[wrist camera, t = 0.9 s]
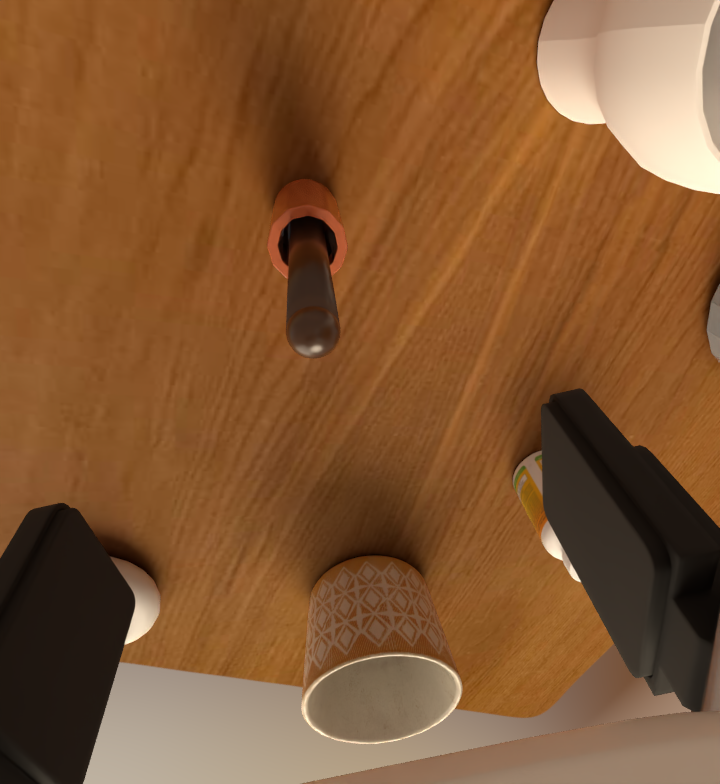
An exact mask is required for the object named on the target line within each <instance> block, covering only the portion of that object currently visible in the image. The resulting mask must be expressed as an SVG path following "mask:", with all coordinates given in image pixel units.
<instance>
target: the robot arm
mask: <svg viewBox="0 0 720 784" xmlns="http://www.w3.org/2000/svg"><path fill="white" fill-rule="evenodd" d="M541 437H542V491H543V507H544V511H545V515H546V517H547V520H548V522H549V524H550V525H551V527H552V529H553V531H554V533H555V535H556V537H557V538H558V540H559V542H560V544H561V546H562V548H563V549H564V551H565V553H566V555H567V557H568V559H569V561H570V562H571V564H572V566H573V568H574V570H575V572H576V573H577V575H578V577H579V579H580V581H581V583H582V585H583V586H584V588H585V590H586V592H587V594H588V596H589V597H590V599H591V601H592V603H593V605H594V607H595V609H596V610H597V612H598V614H599V616H600V618H601V620H602V621H603V623H604V625H605V627H606V629H607V631H608V633H609V634H610V636H611V638H612V640H613V642H614V644H615V645H616V647H617V649H618V651H619V653H620V654H621V657H622V658H623V660H624V662H625V664H626V666H627V667H628V669H629V671H630V672H631V673H632V675H633V676H634V677H635V678H640V677H644V678H645V680H646V682H647V684H648V686H649V687H650V689H651V691H652V693H653V695H654V696H656V695H661V694H665V693H671V692H675V694H676V695H677V697H678V699H679V700H680V702H681V704H682V705H683V706H684V707H686V708H688V709H690V710H691V712H683V713H676V714H667V715H660V716H652V717H644V718H636V719H629V720H623V721H618V722H612V723H607V724H601V725H596V726H591V727H585V728H580V729H574V730H569V731H563V732H558V733H552V734H546V735H541V736H535V737H530V738H525V739H520V740H515V741H510V742H505V743H500V744H495V745H490V746H485V747H480V748H475V749H470V750H465V751H460V752H455V753H450V754H445V755H440V756H435V757H430V758H425V759H420V760H416V761H410V762H405V763H401V764H395V765H390V766H385V767H380V768H376V769H370V770H366V771H361V772H356V773H351V774H346V775H341V776H336V777H331V778H327V779H322V780H317V781H312V782H307V783H303V784H720V528H719V527H718V526H717V525H716V524H715V523H714V521H713V520H712V519H711V518H710V517H709V516H708V515H707V514H706V513H705V511H704V510H703V509H702V508H701V507H700V506H699V505H698V504H697V503H696V501H695V500H694V499H693V498H692V497H691V496H690V495H689V494H688V493H687V491H686V490H685V489H684V488H683V487H682V486H681V485H680V484H679V483H678V481H677V480H676V479H675V478H674V477H673V476H672V475H671V474H670V473H669V471H668V470H667V469H666V468H665V467H664V466H663V465H662V464H661V462H660V461H659V460H658V459H657V458H656V457H655V456H654V455H653V454H652V453H651V452H650V451H649V450H648V449H647V448H646V447H643V446H640V445H639V446H635V447H633V446H632V445H631V444H630V443H629V441H628V440H627V439H626V438H625V437H624V436H623V435H622V433H621V432H620V431H619V430H618V429H617V428H616V426H615V425H614V424H613V423H612V422H611V421H610V420H609V418H608V417H607V416H606V415H605V414H604V413H603V411H602V410H601V409H600V408H599V407H598V406H597V405H596V403H595V402H594V401H593V400H592V399H591V398H590V396H589V395H588V394H587V393H586V392H585V391H584V390H583V389H580V388H579V389H575V390H570V391H566V392H561V393H557V394H552V395H551V396H550V399H549V403H546V404H543V405H542V407H541ZM134 611H135V596H134V593H133V591H132V589H131V588H130V586H129V585H128V583H127V582H126V580H125V579H124V577H123V576H122V574H121V573H120V571H119V570H118V568H117V567H116V565H115V564H114V562H113V561H112V559H111V558H110V556H109V555H108V553H107V552H106V551H105V549H104V548H103V546H102V545H101V543H100V542H99V540H98V539H97V537H96V536H95V534H94V533H93V531H92V530H91V528H90V527H89V525H88V524H87V522H86V521H85V519H84V518H83V516H82V515H81V513H80V512H79V511H78V510H77V509H75V508H70V507H69V506H68V505H66V504H64V503H58V504H54V505H49V506H45V507H40V508H35V509H33V510H31V511H29V512H28V514H27V515H26V516H25V518H24V520H23V521H22V523H21V525H20V526H19V528H18V530H17V531H16V533H15V535H14V536H13V538H12V540H11V541H10V543H9V545H8V546H7V548H6V550H5V551H4V553H3V555H2V557H1V558H0V784H83V782H84V779H85V775H86V772H87V768H88V765H89V762H90V759H91V755H92V752H93V748H94V745H95V742H96V738H97V735H98V732H99V728H100V725H101V721H102V718H103V715H104V712H105V708H106V705H107V701H108V698H109V695H110V691H111V688H112V685H113V681H114V678H115V674H116V671H117V668H118V664H119V661H120V658H121V654H122V651H123V648H124V644H125V641H126V638H127V634H128V631H129V628H130V624H131V621H132V617H133V614H134Z"/></svg>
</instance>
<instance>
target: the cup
mask: <svg viewBox="0 0 720 784" xmlns="http://www.w3.org/2000/svg"><path fill="white" fill-rule="evenodd" d="M537 67H538V73H539V79H540V84H541V86H542V88H543V91H544V93H545V95H546V97H547V99H548V101H549V102H550V103H551V104H552V106H553V107H554V108H555V109H556V110H557V111H558V112H559V113H560V114H562V115H563V116H565V117H567V118H569V119H570V120H572V121H575V122H581V123H586V124H602V123H606V124H607V127H608V128H609V129H610V130H611V132H612V133H613V134H614V135H615V137H616V138H617V139H618V140H619V142H620V143H621V144H622V145H623V147H624V148H625V149H626V150H627V151H628V152H629V154H630V155H631V156H632V157H633V158H634V159H635V161H636V162H637V163H638V164H639V165H640V166H641V167H642V168H644V169H646V170H648V171H650V172H651V173H653V174H655V175H657V176H659V177H660V178H662V179H664V180H666V181H669V182H672V183H675V184H678V185H681V186H684V187H687V188H690V189H693V190H698V191H704V192H710V193H716V194H720V0H554V1H553V3H552V5H551V7H550V9H549V11H548V13H547V15H546V17H545V19H544V23H543V26H542V30H541V34H540V37H539V41H538V55H537Z"/></svg>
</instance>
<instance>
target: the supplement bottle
mask: <svg viewBox="0 0 720 784" xmlns="http://www.w3.org/2000/svg"><path fill="white" fill-rule="evenodd" d="M513 486H514V489H515V491H516V493H517V495H518V497H519V499H520V501H521V503H522V505H523V506H524V508H525V510H526V512H527V514H528V516H529V518H530V520H531V522H532V524H533V526H534V528H535V530H536V532H537V534H538V536H539V537H540V539H541V541H542V543H543V545H544V547H545V548H546V550H547V551H548V552H549V553H550V554H551V555H552V556H554V557H555V558H558V559H560V560H563V563H564V565H565V567H566V568H567V570H568V572H569V573H570V575H571V576H572V578H574V579H575V580H576V581H578V582H581V581H580V579H579V577H578V575H577V573H576V572H575V570H574V568H573V566H572V564H571V562H570V561H569V559H568V557H567V555H566V553H565V551H564V549H563V548H562V546H561V544H560V542H559V540H558V538H557V537H556V535H555V533H554V531H553V529H552V527H551V525H550V524H549V522H548V520H547V517H546V515H545V511H544V507H543V491H542V451H538V452H536V453H533V454H531V455H530V456H528V457H527V458H525V459H524V460H523V461H522V462H521V463H520V464H519V466H518V467H517V469H516V470H515V472H514V475H513Z"/></svg>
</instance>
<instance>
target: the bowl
mask: <svg viewBox="0 0 720 784" xmlns="http://www.w3.org/2000/svg"><path fill="white" fill-rule="evenodd" d="M707 334H708V339H709V343H710V348H711V352H712V354H713V355H714V357H715V358H716V359H717V360H718V362H719V363H720V284H719V286H718V288H717V290H716V292H715V294H714V296H713V299H712V301H711V306H710V312H709V318H708V324H707Z"/></svg>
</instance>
